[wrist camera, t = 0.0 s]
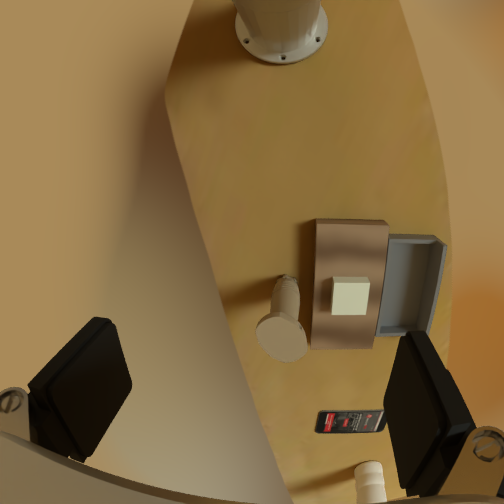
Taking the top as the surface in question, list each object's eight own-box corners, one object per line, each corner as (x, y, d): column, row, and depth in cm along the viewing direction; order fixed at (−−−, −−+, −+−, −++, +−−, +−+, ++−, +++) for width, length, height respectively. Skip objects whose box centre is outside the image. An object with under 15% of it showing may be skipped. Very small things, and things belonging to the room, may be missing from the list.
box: (384, 233, 44) (394, 244, 39) (433, 235, 43) (447, 245, 38) (372, 328, 49) (378, 345, 45) (417, 326, 48) (426, 343, 44)
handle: (287, 258, 47) (282, 309, 33) (312, 290, 49) (316, 349, 35) (261, 276, 49) (246, 330, 35) (286, 306, 50) (280, 368, 36)
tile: (332, 276, 44) (334, 282, 42) (367, 276, 44) (370, 282, 42) (330, 308, 46) (331, 315, 44) (363, 308, 45) (365, 314, 43)
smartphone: (319, 411, 57) (391, 410, 55) (319, 408, 57) (391, 407, 55) (314, 433, 59) (382, 431, 57) (314, 430, 60) (382, 429, 58)
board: (315, 218, 45) (316, 223, 42) (383, 220, 43) (389, 225, 41) (309, 338, 51) (310, 349, 49) (368, 338, 50) (372, 348, 47)
